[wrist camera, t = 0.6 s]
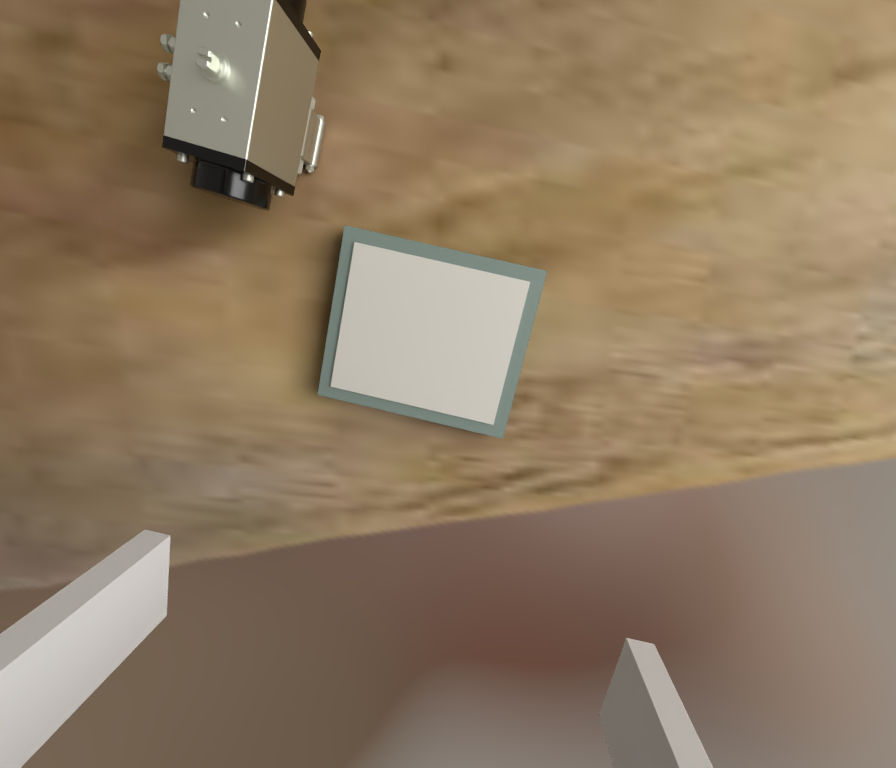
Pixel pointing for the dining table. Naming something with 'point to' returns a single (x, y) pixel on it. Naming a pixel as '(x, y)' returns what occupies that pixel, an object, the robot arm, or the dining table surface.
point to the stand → (428, 331)
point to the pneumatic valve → (243, 97)
